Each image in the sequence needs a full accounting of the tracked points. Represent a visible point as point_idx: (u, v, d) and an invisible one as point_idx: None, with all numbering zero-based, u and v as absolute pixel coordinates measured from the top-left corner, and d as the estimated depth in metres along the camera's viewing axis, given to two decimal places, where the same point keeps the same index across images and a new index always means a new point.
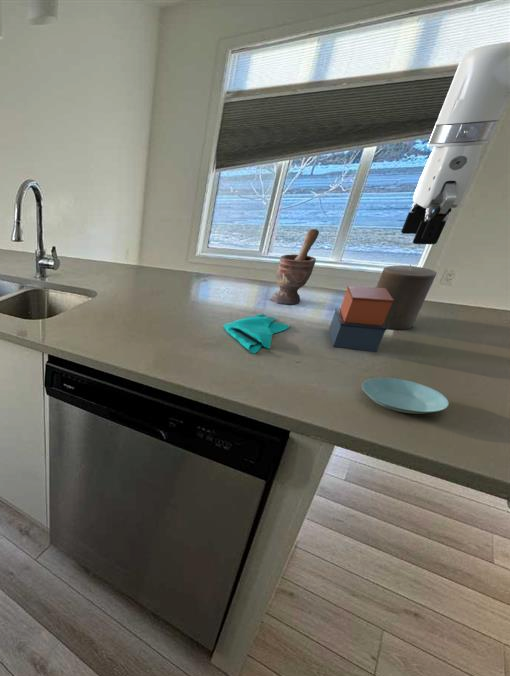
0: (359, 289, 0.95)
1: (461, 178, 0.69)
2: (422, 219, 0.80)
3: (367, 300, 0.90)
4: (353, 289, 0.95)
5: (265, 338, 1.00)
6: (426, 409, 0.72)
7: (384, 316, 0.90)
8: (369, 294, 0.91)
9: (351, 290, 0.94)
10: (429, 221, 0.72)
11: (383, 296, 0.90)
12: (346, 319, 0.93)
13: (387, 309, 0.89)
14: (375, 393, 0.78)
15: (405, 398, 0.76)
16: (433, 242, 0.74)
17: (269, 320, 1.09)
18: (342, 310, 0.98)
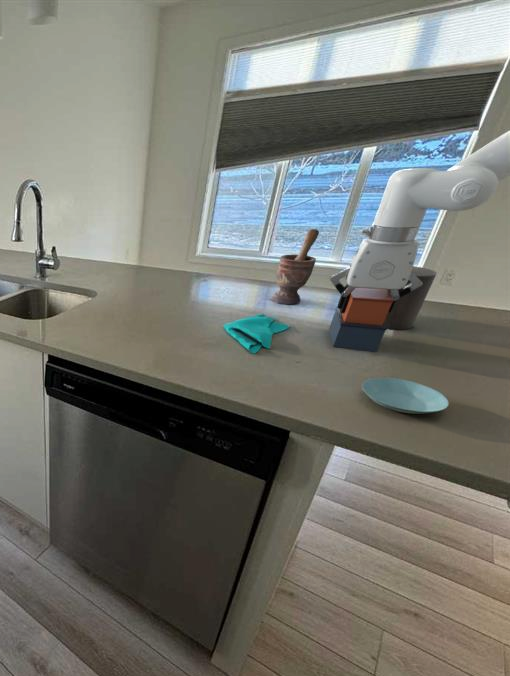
0: (359, 289, 0.95)
1: (352, 263, 0.91)
2: None
3: (367, 300, 0.90)
4: None
5: (265, 338, 1.00)
6: (426, 409, 0.72)
7: (384, 316, 0.90)
8: (369, 294, 0.91)
9: None
10: None
11: (383, 296, 0.90)
12: (346, 319, 0.93)
13: (387, 309, 0.89)
14: (375, 393, 0.78)
15: (405, 398, 0.76)
16: (340, 311, 0.96)
17: (269, 320, 1.09)
18: None
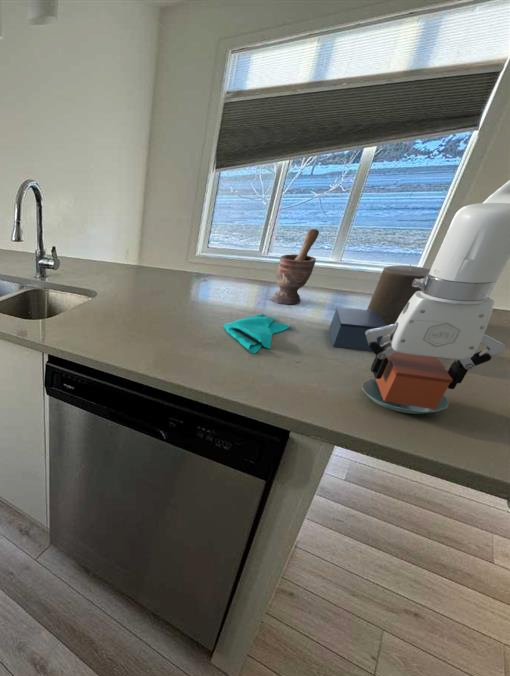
0: (403, 358, 0.73)
1: (400, 323, 0.69)
2: (453, 373, 0.69)
3: (416, 378, 0.69)
4: (395, 358, 0.74)
5: (265, 338, 1.00)
6: (426, 409, 0.72)
7: (438, 398, 0.68)
8: (418, 367, 0.70)
9: (392, 359, 0.73)
10: None
11: (437, 372, 0.69)
12: (387, 398, 0.72)
13: (443, 390, 0.68)
14: (375, 393, 0.78)
15: None
16: (375, 376, 0.74)
17: (269, 320, 1.09)
18: (379, 382, 0.77)
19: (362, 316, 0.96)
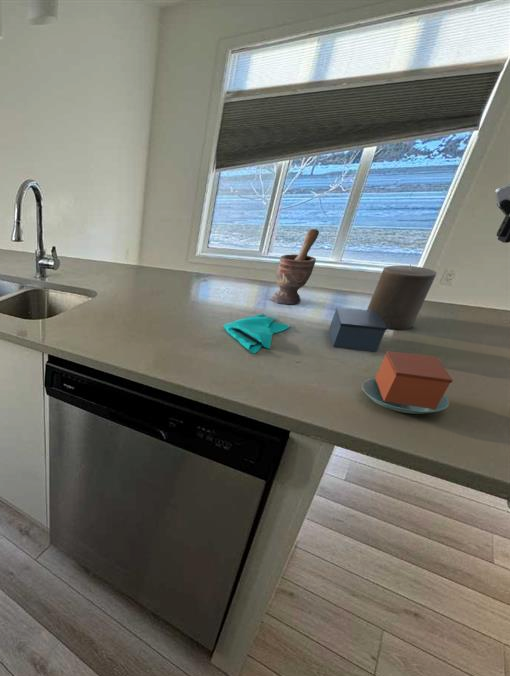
0: (402, 358, 0.73)
1: None
2: None
3: (416, 378, 0.69)
4: (395, 358, 0.74)
5: (265, 338, 1.00)
6: (426, 409, 0.72)
7: (438, 398, 0.68)
8: (417, 367, 0.70)
9: (392, 359, 0.73)
10: None
11: (437, 372, 0.69)
12: (386, 398, 0.72)
13: (443, 390, 0.68)
14: (375, 393, 0.78)
15: None
16: (504, 240, 0.69)
17: (269, 320, 1.09)
18: (379, 382, 0.77)
19: (362, 316, 0.96)
